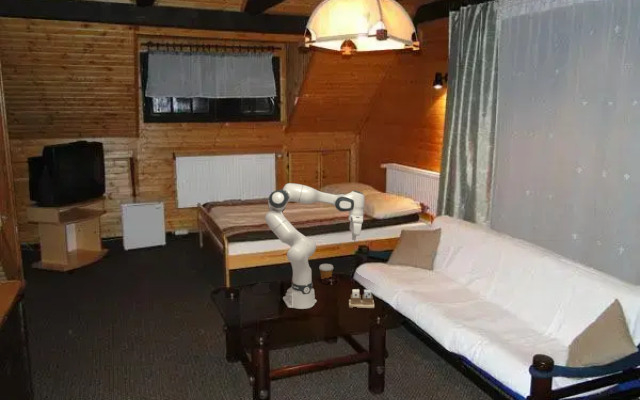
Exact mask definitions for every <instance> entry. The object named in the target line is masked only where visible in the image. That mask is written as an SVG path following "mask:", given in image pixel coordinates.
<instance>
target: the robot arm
mask: <svg viewBox="0 0 640 400" xmlns="http://www.w3.org/2000/svg"><path fill="white" fill-rule="evenodd" d="M365 198H366V196H365V194H364V193H363V192H361V191H358V190H351V192H348V193H344V192H341V193H335V194H334V193H328V192H324V191H320V190H318V189H315V188H314V187H311V186H309V185H305V184H300V183H291V182H290V183H289V182H288V183H286V184H285V185H284V186H283V187H282V189H278V190H274V191H272V192H271V193H270V194H269V196H268V200H267V204H268V211H267V212H266V214H265V216H264V220H265V223H266V224H267V226H268V227H269V229H270V230H271V231H272V232H273V234H274V235H275V236H276V237H277V238H278V240H279V241H280V242H281V243H283V244H286V245H288V246H289V247H290V248H289V249H288V251H287V253H286V258H287V261H288V262H290V265H291V268H292V277H293V282H292V281H291V287H289V288H288V289H287V290H286V293H285V296H283V297H282V300H283V301H284V303H285V305H286V306H287V308H292V309H297V310H298V309H299V310H300V309H301V310H304V309H311V308H312V307H313V306H315V304H316V303H317V302H318V301H317V299H316V298H315V297H316V295H315V289H314V288H313V281H312V280H313V279H312V275H313V274H312V273H313V271H312V268H311V267H310V264H309V258H310V257H311V256H313V254H314V253H315V252H316V250H317V244H316V241H315V240H314V239H312V238H309V237H307V236H305V235H304V234H303V233H301V232H300V231H299V230H297V228H295V226H294V225H292V223H291V222H290V221H289V220H288V219H287V218H286V216H285V215H284V214H283V212H284V211H285V209H286V206H288V205H287V204H288V203H290V202H295V203H299V204H303V205H304V204H305V205H311V204H314V203H323V204H329V205H333V206H335V208H336V210H337V211H339V212H343V213H344V212H348V221H350V223H349V230H350V232H351V239H352V241H353V242H355V241H356V240H357V239H356V238H357V236H358V237H359V236H360V235H361V232H362V226H363V225H362V224H363V223H364V208H365V203H366V201H365Z"/></svg>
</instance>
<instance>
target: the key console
mask: <svg viewBox="0 0 640 400" xmlns="http://www.w3.org/2000/svg"><path fill="white" fill-rule="evenodd" d="M361 296H362V297H361ZM353 307H357V308H358V309H359V308H363V309H364V308H365V309H366V308H367V309H374V308H375V302H374V297H373V294H371V298H364V294H362V295H361V294H359V298H352V293H351V294H350V299H348V308H353Z"/></svg>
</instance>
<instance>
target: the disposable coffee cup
mask: <svg viewBox="0 0 640 400" xmlns="http://www.w3.org/2000/svg"><path fill="white" fill-rule="evenodd" d="M318 267H319V273H320V280H321V279H324V278H329V277H333V270H334V269H335V268H334V265H333V264H332V263H322V264H319V266H318Z"/></svg>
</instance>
